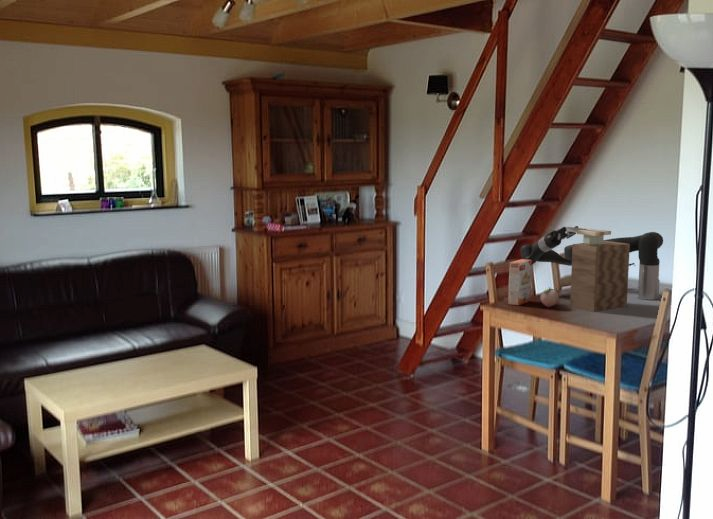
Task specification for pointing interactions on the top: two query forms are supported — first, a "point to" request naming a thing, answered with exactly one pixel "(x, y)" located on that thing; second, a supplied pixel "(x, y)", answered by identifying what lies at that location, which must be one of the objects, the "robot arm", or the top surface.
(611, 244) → the stand
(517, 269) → the cracker box
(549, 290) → the decorative fruit
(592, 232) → the lid
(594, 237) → the pale grey block
